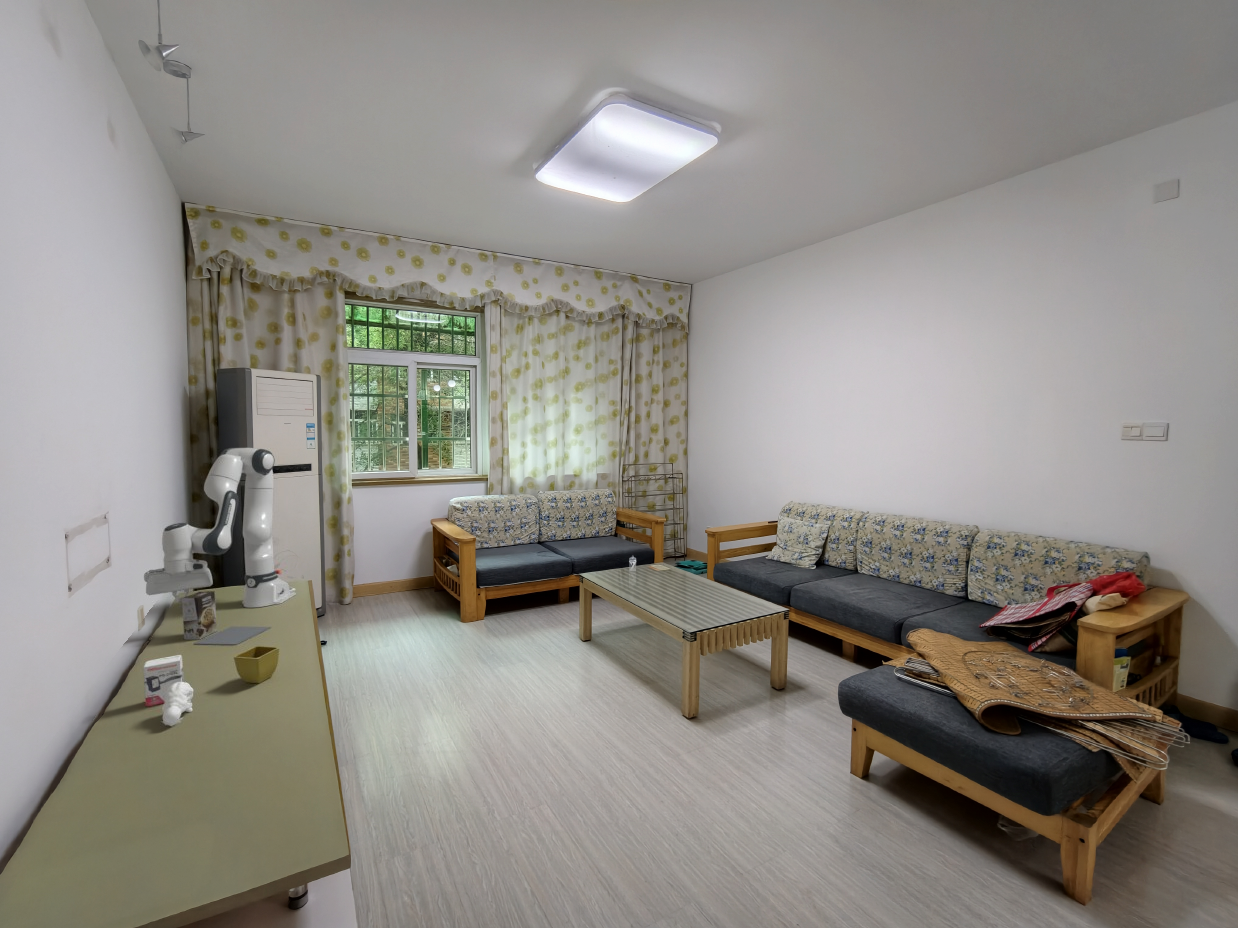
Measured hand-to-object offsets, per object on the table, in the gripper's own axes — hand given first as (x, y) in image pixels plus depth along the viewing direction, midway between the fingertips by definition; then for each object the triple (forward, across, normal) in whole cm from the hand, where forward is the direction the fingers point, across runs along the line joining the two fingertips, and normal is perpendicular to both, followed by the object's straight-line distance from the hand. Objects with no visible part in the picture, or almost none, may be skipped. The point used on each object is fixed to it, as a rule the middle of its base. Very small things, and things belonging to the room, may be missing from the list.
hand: (181, 601), depth 217 cm
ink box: (+13, -3, -65) cm, 66 cm away
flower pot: (+13, +20, -66) cm, 71 cm away
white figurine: (+13, 0, -81) cm, 82 cm away
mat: (+13, +16, -14) cm, 25 cm away
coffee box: (+13, +5, -5) cm, 15 cm away
